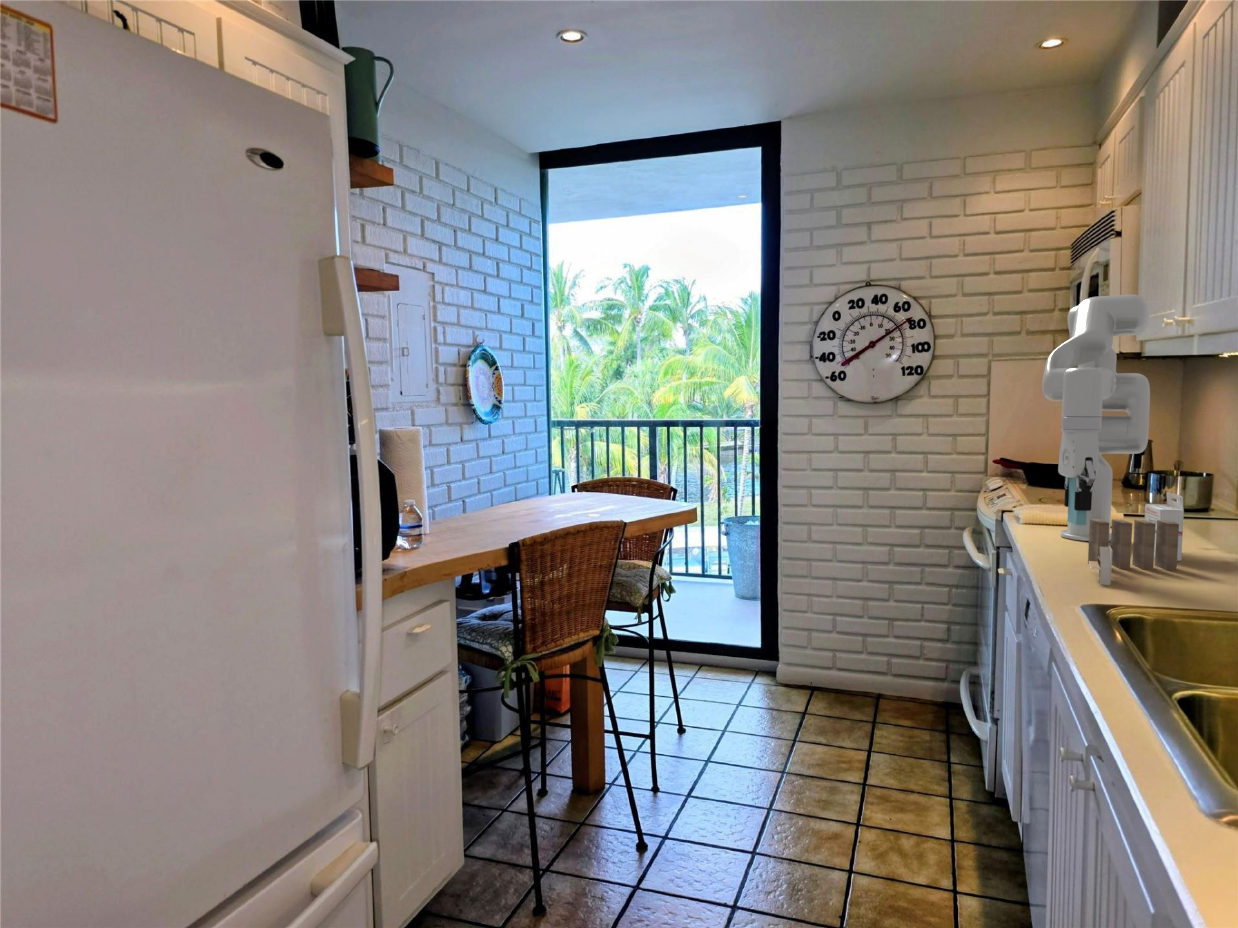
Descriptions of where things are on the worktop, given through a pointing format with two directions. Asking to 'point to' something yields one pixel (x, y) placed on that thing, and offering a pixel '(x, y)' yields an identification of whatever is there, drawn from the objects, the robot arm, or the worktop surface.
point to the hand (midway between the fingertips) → (1077, 507)
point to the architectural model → (1103, 565)
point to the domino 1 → (1073, 514)
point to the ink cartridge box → (1167, 516)
